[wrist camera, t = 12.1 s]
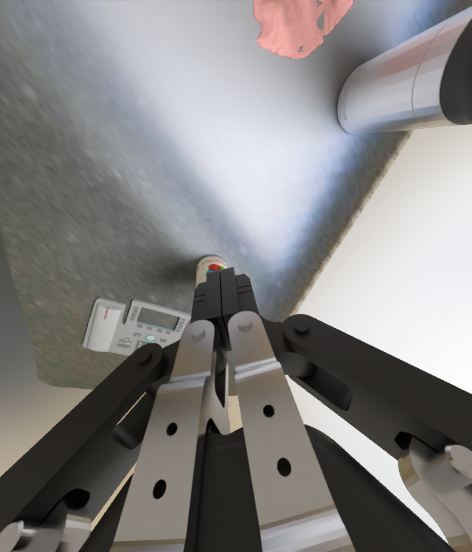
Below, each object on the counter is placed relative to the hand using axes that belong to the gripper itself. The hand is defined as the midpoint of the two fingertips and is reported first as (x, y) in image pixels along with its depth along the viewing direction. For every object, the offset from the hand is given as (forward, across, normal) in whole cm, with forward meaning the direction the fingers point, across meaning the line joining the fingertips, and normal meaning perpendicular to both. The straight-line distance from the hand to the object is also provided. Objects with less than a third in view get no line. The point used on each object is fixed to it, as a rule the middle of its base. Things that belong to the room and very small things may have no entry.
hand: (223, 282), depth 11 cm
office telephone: (+29, +28, +30) cm, 50 cm away
